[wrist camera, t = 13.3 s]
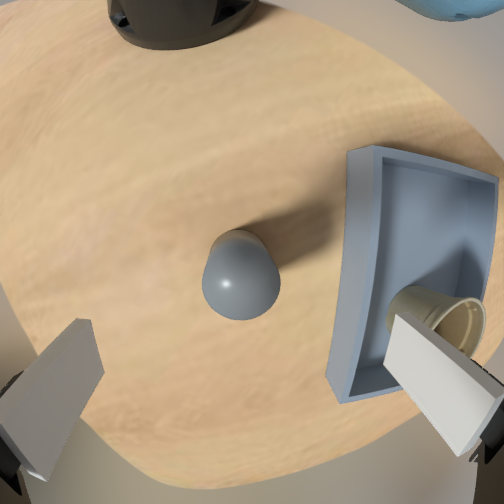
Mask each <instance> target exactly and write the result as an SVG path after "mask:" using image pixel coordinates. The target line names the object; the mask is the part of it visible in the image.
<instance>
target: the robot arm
mask: <svg viewBox="0 0 504 504" xmlns="http://www.w3.org/2000/svg"><path fill="white" fill-rule="evenodd" d="M258 1H259V0H107V3H108V14H109V18H110V20H111V23H112V24H113V26H114V27H115V28H116V30H117V31H118V33H119V34H120V35H121V36H122V37H123V38H124V39H125V40H126V41H128V42H130V43H131V44H133V45H136V46H138V47H142V48H146V49H152V50H178V49H185V48H191V47H195V46H199V45H203V44H206V43H209V42H212V41H214V40H217V39H219V38H221V37H223V36H225V35H227V34H229V33H231V32H232V31H234V30H236V29H237V28H238V27H240V26H241V25H242V24H243V23H245V22H246V21H247V20H248V19H249V18H250V16H251V15H252V14H253V12H254V11H255V9H256V7H257V4H258ZM396 1H398V2H399V3H401V4H403V5H405V6H407V7H408V8H410V9H412V10H413V11H415V12H417V13H419V14H421V15H423V16H425V17H428V18H431V19H434V20H439V21H449V22H451V21H452V22H453V21H464V20H468V19H471V18H481V17H484V16H487V15H490V14H493V13H495V12H497V11H500V10H502V9H504V0H396ZM383 365H384V366H385V367H386V368H387V369H388V371H389V372H390V373H391V374H392V375H393V377H394V378H395V379H396V380H397V382H398V383H399V384H400V385H401V386H402V388H403V389H404V390H405V391H406V392H407V394H408V395H409V396H410V397H411V399H412V400H413V401H414V402H415V404H416V405H417V406H418V407H419V408H420V410H421V411H422V412H423V413H424V415H425V416H426V417H427V418H428V420H429V421H430V422H431V423H432V425H433V426H434V427H435V429H436V430H437V431H438V432H439V434H440V435H441V436H442V437H443V439H444V440H445V441H446V442H447V444H448V445H449V446H450V448H451V449H452V450H453V452H454V453H455V454H456V456H460V455H461V454H463V453H465V452H466V451H468V450H469V449H471V448H472V447H473V445H474V444H475V442H476V441H477V439H478V438H479V437H480V438H481V439H482V442H481V444H480V445H479V446H478V448H477V449H476V450H475V452H474V453H473V454H472V456H471V457H470V459H469V462H471V461H472V460H473V459H474V457H475V456H476V455H477V454H478V457H477V458H476V459H475V461H474V462H478V470H477V479H476V488H475V495H474V501H473V504H504V385H503V384H502V383H501V382H500V381H499V380H497V379H496V378H495V377H494V376H493V375H492V374H489V373H488V371H487V370H485V369H484V368H483V369H482V366H481V365H479V364H478V363H477V362H476V361H474V360H472V359H470V358H468V357H466V356H465V355H464V354H463V353H461V352H460V351H459V350H458V349H456V348H455V347H454V346H453V345H451V344H450V343H449V342H447V341H446V340H445V339H444V338H442V337H441V336H440V335H438V334H437V333H436V332H434V331H433V330H432V329H431V328H429V327H428V326H427V325H425V324H424V323H423V322H421V321H420V320H419V319H417V318H416V317H415V316H413V315H412V314H411V313H409V312H405V313H398V314H396V315H395V319H394V324H393V328H392V332H391V337H390V341H389V345H388V348H387V352H386V356H385V360H384V363H383ZM104 373H105V372H104V369H103V365H102V362H101V359H100V355H99V351H98V348H97V344H96V340H95V336H94V332H93V328H92V323H91V320H88V319H78V318H76V319H75V320H74V321H73V322H72V323H71V324H70V325H69V326H68V327H67V328H66V329H65V330H64V331H63V332H62V333H61V334H60V335H59V336H58V337H57V338H56V339H55V340H54V341H53V342H52V343H51V344H50V345H49V346H48V347H47V348H46V349H45V350H44V351H43V352H42V353H41V354H40V355H39V356H38V357H37V358H36V359H35V360H34V361H33V362H32V364H31V365H30V366H29V367H28V368H27V369H26V370H25V371H22V372H20V373H19V374H17V375H15V376H14V377H13V378H12V379H11V380H10V381H9V382H8V383H7V384H6V387H4V388H3V389H2V390H1V393H0V504H31V501H30V499H29V495H28V493H27V489H26V486H25V482H24V479H23V475H22V473H21V471H20V470H19V469H18V468H19V467H20V465H21V464H22V465H23V466H24V468H25V469H26V470H27V471H28V472H29V473H30V474H32V475H33V476H35V477H37V478H40V479H42V480H44V481H46V482H47V481H48V479H49V477H50V474H51V472H52V470H53V468H54V466H55V464H56V462H57V459H58V457H59V455H60V453H61V451H62V449H63V447H64V445H65V443H66V441H67V439H68V437H69V435H70V434H71V431H72V430H73V428H74V426H75V424H76V422H77V420H78V419H79V417H80V415H81V413H82V411H83V409H84V408H85V406H86V404H87V402H88V400H89V399H90V397H91V395H92V393H93V392H94V390H95V388H96V386H97V385H98V383H99V381H100V380H101V378H102V376H103V374H104Z"/></svg>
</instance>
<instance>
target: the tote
mask: <svg viewBox="0 0 504 504" xmlns="http://www.w3.org/2000/svg"><path fill="white" fill-rule="evenodd" d="M498 182H499V178H498V177H496V176H493V175H490V174H487V173H484V172H481V171H478V170H475V169H472V168H469V167H465V166H462V165H459V164H455V163H452V162H448V161H445V160H441V159H437V158H433V157H429V156H425V155H421V154H416V153H412V152H407V151H403V150H398V149H393V148H387V147H382V146H376V145H371V146H367V147H363V148H359V149H355V150H352V151H348V152H347V190H346V214H345V231H344V244H343V256H342V267H341V277H340V285H339V294H338V302H337V309H336V317H335V323H334V330H333V336H332V342H331V348H330V354H329V360H328V365H327V370H326V375H325V376H326V378H327V380H328V382H329V384H330V386H331V388H332V390H333V392H334V394H335V396H336V398H337V400H338V402H339V404H343V403H348V402H353V401H358V400H363V399H367V398H372V397H376V396H380V395H384V394H388V393H392V392H396V391H399V390H403V388H402V386H401V385H400V384H399V383H398V382H397V380H396V379H395V378H394V377H393V375H392V374H391V373H390V372H389V371H388V369H387V368H386V367H385V366H384V365H383V363H384V360H385V356H386V352H387V348H388V345H389V341H390V337H391V334H390V333H389V332H388V330H387V327H386V322H385V319H386V316H387V313H388V308H389V305H390V303H391V301H392V300H393V298H394V297H395V296H396V295H397V294H398V293H399V292H400V291H401V290H403V289H404V288H406V287H409V286H421V287H423V288H426V289H429V290H432V291H435V292H438V293H441V294H445V295H448V296H451V297H454V298H455V297H461V298H465V297H474V298H477V299H479V300H480V301H481V302H483V298H484V294H485V290H486V285H487V281H488V276H489V271H490V266H491V260H492V254H493V248H494V240H495V232H496V222H497V209H498Z"/></svg>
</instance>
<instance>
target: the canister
mask: <svg viewBox="0 0 504 504" xmlns="http://www.w3.org/2000/svg"><path fill="white" fill-rule="evenodd" d="M280 285H281V283H280V274H279V271H278V269H277V267H276V265H275V263H274V261H273V260H272V258H271V256H270V255H269V253H268V251H267V250H266V248H265V246H264V244H263V243H262V241H261V240H260V239H259V238H258V237H257V236H256V235H254V234H253V233H251V232H249V231H246V230H239V229H238V230H231V231H228V232H225V233H223V234H222V235H220V236H219V237H218V238H217V239H216V240H215V242H214V243H213V245H212V247H211V250H210V253H209V257H208V260H207V264H206V267H205V270H204V274H203V278H202V290H203V294H204V297H205V299H206V301H207V303H208V304H209V305H210V307H211V308H212V309H213V310H214V311H216V312H217V313H218V314H220V315H222V316H224V317H226V318H229V319H233V320H249V319H253V318H256V317H258V316H260V315H262V314H263V313H265V312H266V311H267V310H269V309H270V308H271V307H272V305H273V304H274V303H275V301H276V299H277V297H278V295H279V291H280Z"/></svg>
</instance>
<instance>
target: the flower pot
mask: <svg viewBox="0 0 504 504" xmlns="http://www.w3.org/2000/svg"><path fill="white" fill-rule="evenodd" d="M405 312H409V313H411V314H412V315H413V316H415V317H416V318H417V319H419V320H420V321H421V322H423V323H424V324H425V325H427V326H428V327H429V328H431V329H432V330H433V331H434V332H436V333H437V334H438V335H440V336H441V337H442V338H444V339H445V340H446V341H447V342H449V343H450V344H451V345H453V346H454V347H455V348H456V349H458V350H459V351H460V352H461V353H463V354H464V355H465V356H466V357H468V358H470V359H472V357H473V355H474V354H475V352H476V350H477V348H478V346H479V344H480V342H481V339H482V336H483V333H484V329H485V324H486V312H485V308H484V306H483V304H482V302H481V301H480V300H479V299H477V298H474V297H465V298H461V297H455V298H454V297H451V296H448V295H445V294H441V293H438V292H435V291H432V290H429V289H426V288H423V287H421V286H409V287H406V288H404V289H403V290H401V291H400V292H399V293H398V294H397V295H396V296H395V297H394V298H393V300H392V301H391V303H390V305H389V308H388V313H387V316H386V319H385V322H386V327H387V330H388V332H389V333H390V334H391V332H392V328H393V324H394V319H395V315H396V314H398V313H405Z"/></svg>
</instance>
